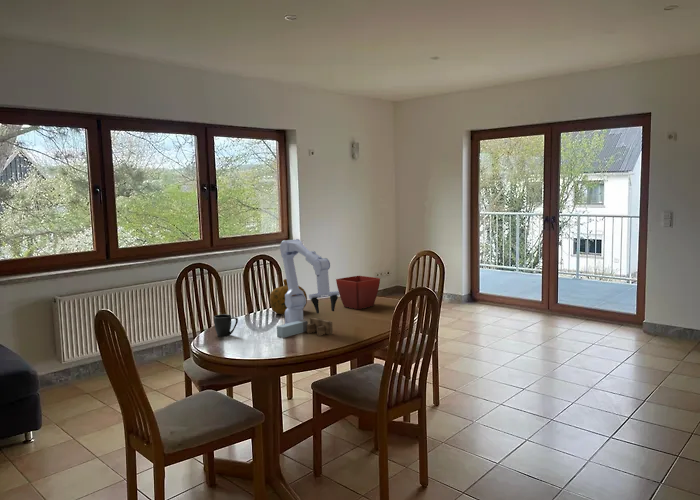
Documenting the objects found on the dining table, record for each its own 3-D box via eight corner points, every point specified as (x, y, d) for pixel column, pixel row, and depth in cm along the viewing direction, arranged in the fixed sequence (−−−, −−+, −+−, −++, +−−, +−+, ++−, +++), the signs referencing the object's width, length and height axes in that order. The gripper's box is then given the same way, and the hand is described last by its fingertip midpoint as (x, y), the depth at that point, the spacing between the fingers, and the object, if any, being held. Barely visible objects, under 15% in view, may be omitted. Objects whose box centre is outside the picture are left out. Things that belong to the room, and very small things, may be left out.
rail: (282, 337, 255) (282, 327, 254) (277, 336, 258) (276, 326, 257) (307, 330, 266) (307, 321, 266) (302, 329, 269) (302, 319, 269)
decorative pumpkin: (311, 313, 301) (306, 278, 299) (273, 319, 296) (268, 283, 294) (305, 307, 320) (301, 274, 319) (270, 313, 315) (265, 279, 314)
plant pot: (359, 302, 333) (358, 275, 332) (381, 306, 319) (381, 278, 318) (335, 307, 320) (335, 279, 319) (358, 311, 306) (357, 282, 305)
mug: (233, 338, 256) (232, 318, 255) (211, 337, 260) (210, 317, 259) (242, 333, 264) (241, 314, 263) (220, 332, 268) (219, 313, 267)
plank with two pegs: (303, 332, 264) (302, 320, 264) (312, 329, 269) (312, 317, 268) (323, 336, 255) (322, 324, 254) (332, 334, 259) (332, 321, 259)
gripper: (310, 286, 253) (313, 315, 253) (340, 282, 258) (342, 311, 258) (306, 285, 259) (309, 313, 260) (335, 281, 264) (337, 309, 265)
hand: (325, 312), depth 260 cm, fingers open, 7 cm apart
